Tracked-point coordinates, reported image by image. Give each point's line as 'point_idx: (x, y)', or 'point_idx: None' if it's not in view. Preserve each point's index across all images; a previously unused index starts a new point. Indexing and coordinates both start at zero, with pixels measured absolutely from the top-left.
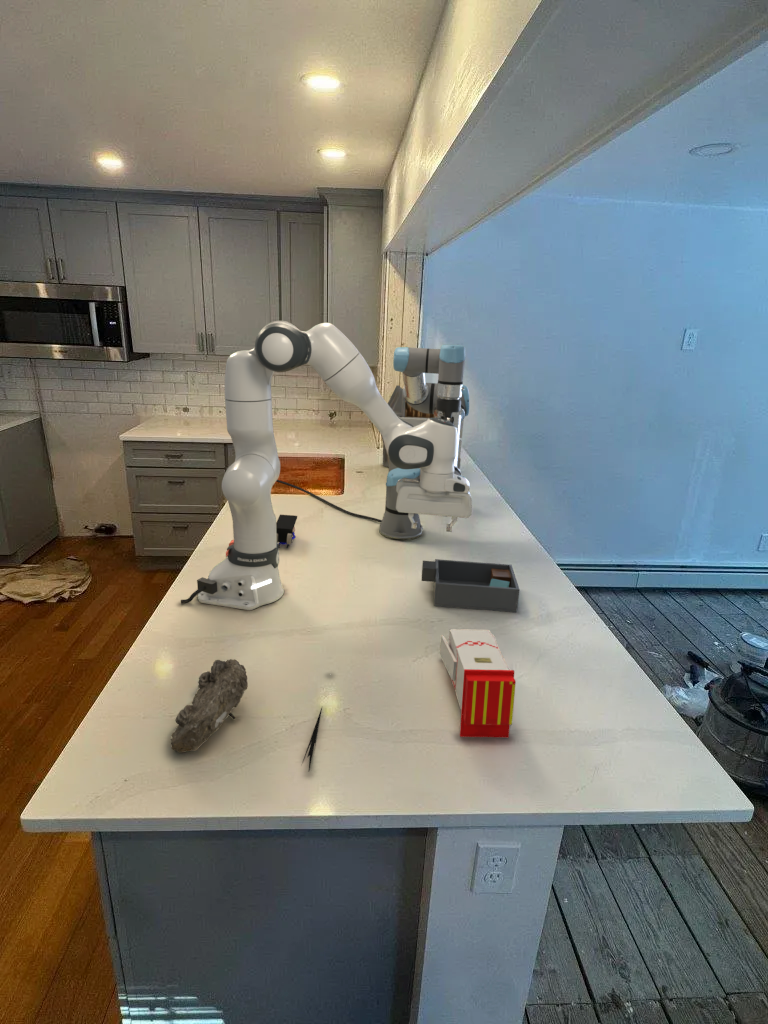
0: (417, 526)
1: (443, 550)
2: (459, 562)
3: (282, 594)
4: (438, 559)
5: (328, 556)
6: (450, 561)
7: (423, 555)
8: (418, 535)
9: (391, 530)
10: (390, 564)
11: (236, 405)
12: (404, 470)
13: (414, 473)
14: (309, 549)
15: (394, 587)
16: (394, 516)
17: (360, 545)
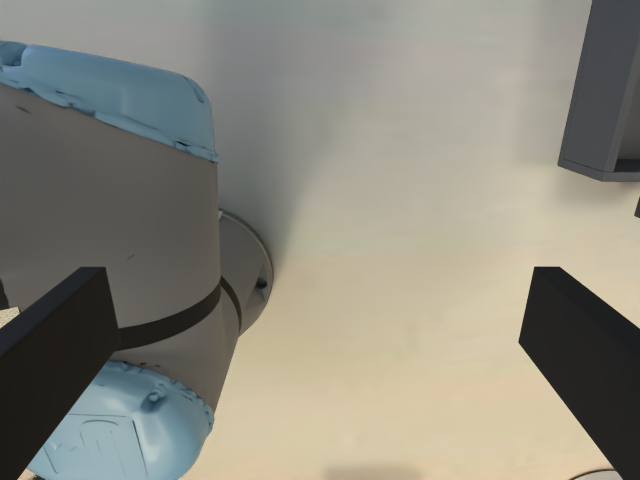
0: (223, 234)
1: (326, 129)
2: (633, 91)
3: (615, 472)
4: (606, 170)
5: (412, 424)
6: (625, 126)
7: (378, 196)
8: (234, 218)
9: (261, 310)
10: (451, 286)
11: None
12: (97, 448)
13: (144, 399)
14: (375, 463)
15: (593, 268)
16: (240, 330)
17: (331, 366)
